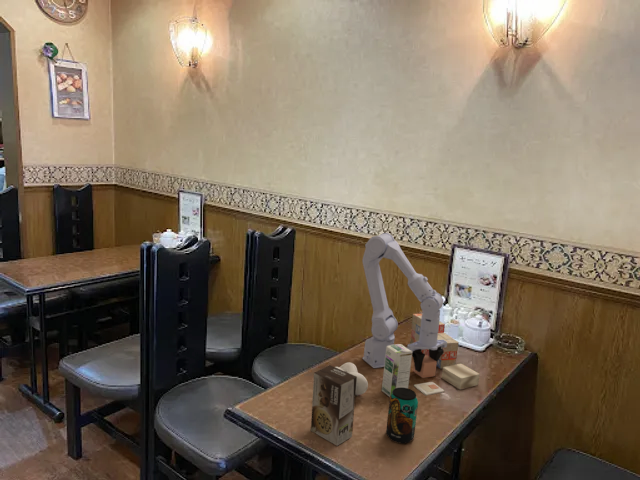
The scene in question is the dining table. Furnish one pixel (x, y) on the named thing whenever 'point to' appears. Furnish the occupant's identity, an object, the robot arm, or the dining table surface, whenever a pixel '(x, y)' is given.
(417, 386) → the card
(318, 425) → the coffee box
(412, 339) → the stack of blocks
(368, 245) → the robot arm
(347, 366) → the white lobed shape
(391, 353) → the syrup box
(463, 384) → the ash block
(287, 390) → the dining table surface
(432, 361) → the terracotta cube
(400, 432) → the beverage can
